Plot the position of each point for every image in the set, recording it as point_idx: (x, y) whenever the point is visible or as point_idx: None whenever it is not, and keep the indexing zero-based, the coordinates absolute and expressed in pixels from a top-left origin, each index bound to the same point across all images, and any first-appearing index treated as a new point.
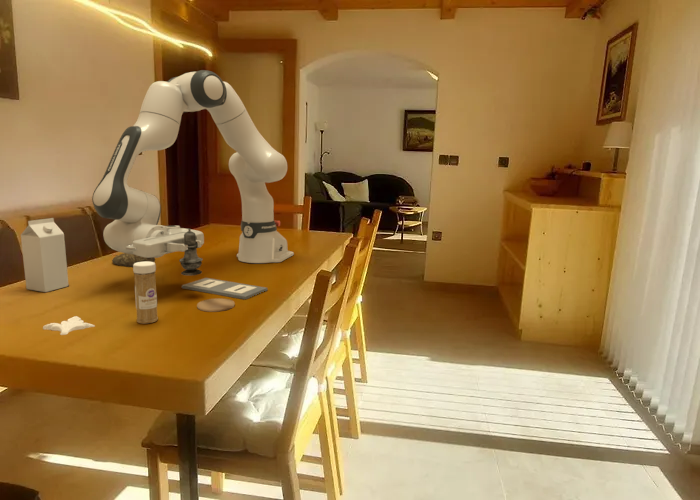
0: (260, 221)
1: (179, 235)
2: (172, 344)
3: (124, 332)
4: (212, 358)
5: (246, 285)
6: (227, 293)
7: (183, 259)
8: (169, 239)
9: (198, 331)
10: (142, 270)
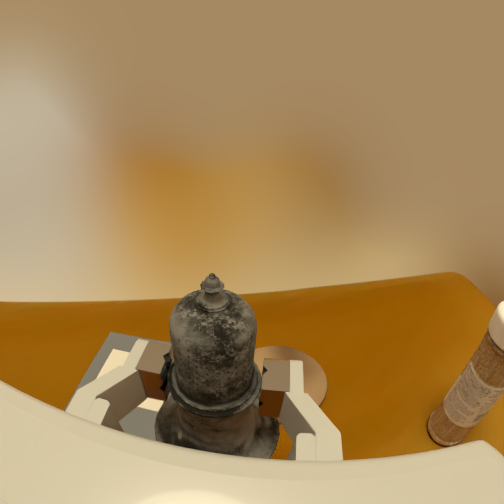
0: None
1: (77, 482)
2: (454, 328)
3: (493, 407)
4: (433, 282)
5: (93, 376)
6: None
7: (258, 439)
8: (297, 469)
9: (405, 331)
10: None
